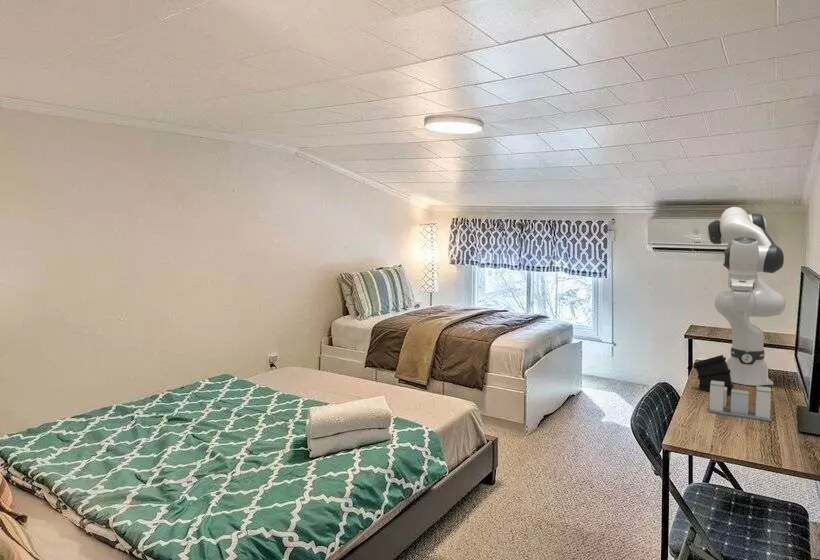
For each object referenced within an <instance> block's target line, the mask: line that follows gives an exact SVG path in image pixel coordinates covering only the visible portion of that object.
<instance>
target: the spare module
mask: <svg viewBox="0 0 820 560" xmlns="http://www.w3.org/2000/svg"><path fill="white" fill-rule="evenodd" d="M727 397H728V395H727V387H724V407H727V403H728V401H727V399H728V398H727Z"/></svg>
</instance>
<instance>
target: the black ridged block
mask: <svg viewBox="0 0 820 560" xmlns="http://www.w3.org/2000/svg"><path fill="white" fill-rule="evenodd" d="M726 361H727V358H726V356H724V355H723V354H721V355H717V356H714V357H710V358H706V359H703V360H699V361H695V362H694V363H693V365H694V366H693V369H694V370H696V372H697V375H698V376H697V379H698V380H699V384H698V388H699V390H700V391H702V392H709V393H710V383H711V380H713V381H721V382H724V387H727V396H731V391H732V389H733V387H734V385H733V383H732V382H731V376H730V372H731V371H730V370H729V369H728V365H727V363H726Z"/></svg>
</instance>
